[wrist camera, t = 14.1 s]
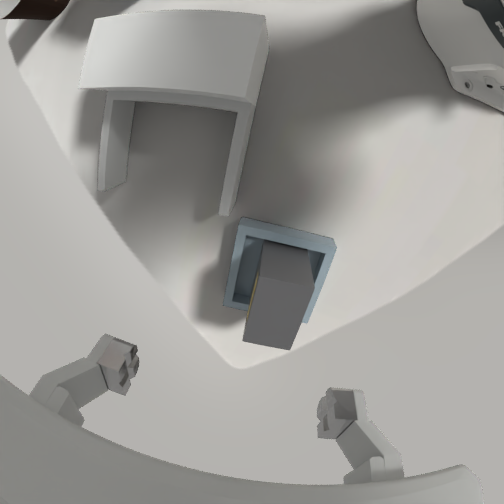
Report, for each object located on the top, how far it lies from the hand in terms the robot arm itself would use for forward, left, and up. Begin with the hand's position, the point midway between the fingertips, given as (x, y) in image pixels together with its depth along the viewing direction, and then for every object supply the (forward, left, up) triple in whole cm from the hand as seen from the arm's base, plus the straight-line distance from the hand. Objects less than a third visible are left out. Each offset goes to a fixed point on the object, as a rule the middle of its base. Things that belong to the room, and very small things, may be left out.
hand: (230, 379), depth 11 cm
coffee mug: (+37, -29, -24) cm, 52 cm away
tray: (-3, +7, -23) cm, 25 cm away
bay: (+11, -9, -23) cm, 27 cm away
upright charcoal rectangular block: (-3, +7, -23) cm, 24 cm away
